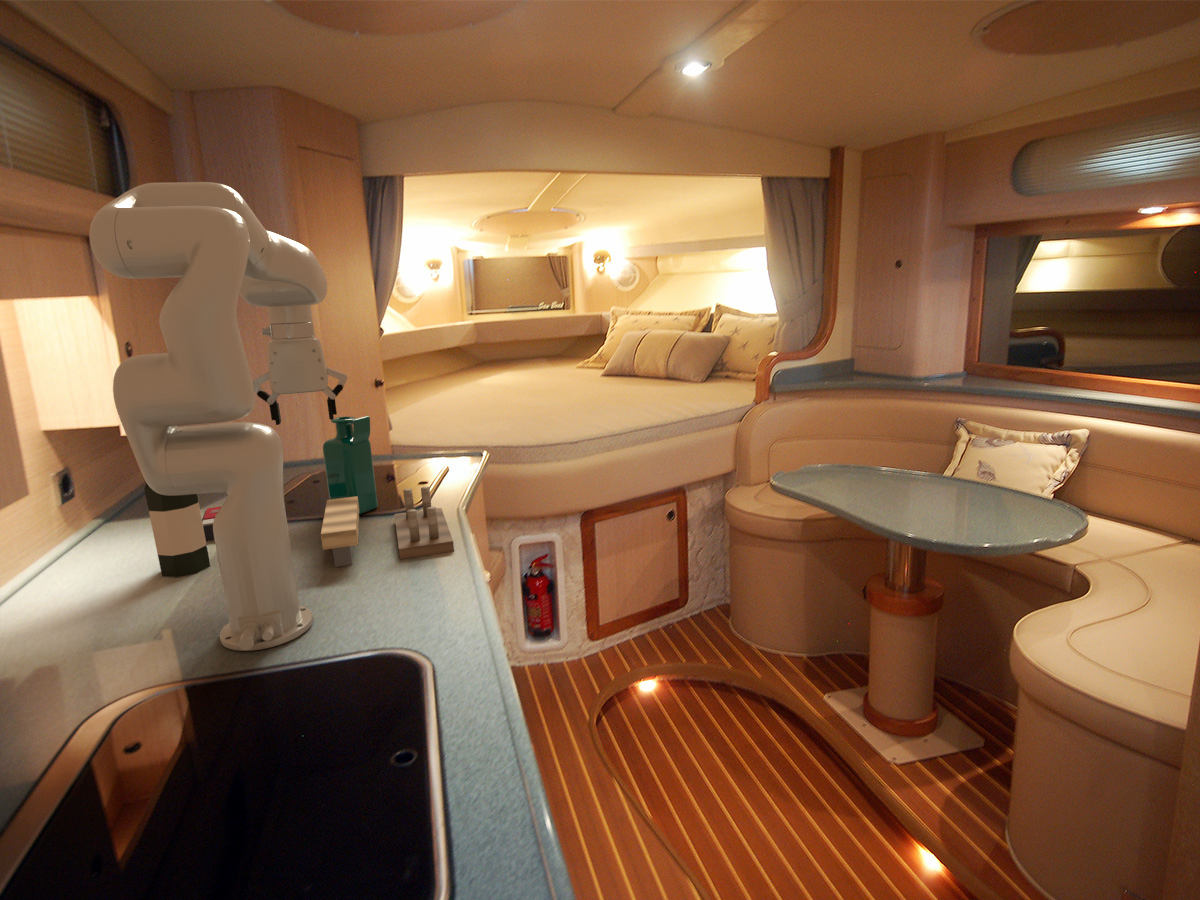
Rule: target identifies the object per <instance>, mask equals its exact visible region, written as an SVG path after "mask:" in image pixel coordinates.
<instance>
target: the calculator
mask: <svg viewBox="0 0 1200 900" xmlns="http://www.w3.org/2000/svg"><path fill="white" fill-rule="evenodd" d="M221 507H222V505H221V506H215V507H208V508H206V509H205V511H204V513H203V517H201V518H202V523H203V529H204V534H205V539H206V543H207V542H213V541H215V539H214V533H213V522H214V518H215V516H216V514H217V512H218V511H219V509H220V508H221Z"/></svg>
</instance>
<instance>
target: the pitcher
mask: <svg viewBox="0 0 1200 900" xmlns="http://www.w3.org/2000/svg"><path fill="white" fill-rule="evenodd" d="M330 423H331V424H335V430H336V436H335V437H332V438H329V439H327V440H326V441H324V442H323V445H322V452H323V461H324V467H325V469H324V470H325V475H326V481H327V482H326V483H327V490H328V497H329V499H328V500H331V499H339V498H347V497H355V496H357V497H358V504H359V514H361V515H363V514H365V513H364V512H366V513H368V512H370V511H372V510H374V509H377V508H378V506H379V504H378V503H379V502H378V495H377V488H376V487H377V486H376V478H375V471H374V470H375V469H374V463H373V462H374V461H373V455H372V454H373V453H372V445H371V441H370V436H371V418H370V416H369V415H364V416H361V417H357V418H356V417H355V416H350V415H349V416H339V417H334V420H331V419H330ZM367 511H368V512H367ZM362 513H363V514H362Z"/></svg>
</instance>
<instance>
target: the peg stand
mask: <svg viewBox="0 0 1200 900" xmlns="http://www.w3.org/2000/svg"><path fill="white" fill-rule="evenodd" d="M402 492H403V501H404V510H405V512H399V513H394V514H393V515H394V521H395V524H394V525H395V530H396V538H397V539H396V540H397V547H398V553H399V554H398V555H399V560H403V559H404V560H405V559H410V558H416V557H423V556H429V555H435V554H436V555H438V554H443V553H450V552H454V551H455V547H454V540H453V537H452V534H451V531H450V529H449V525H448V522H447V520H446V517H445V514H444V512H443V509H442V507H438V508H437V507H436V506H432V497H431V490H430V486H422V487H420V493H421V502H422V503H421V505H422V510H418V509H415V505H414V496H413V495H414V494H413V489H412V488H404V489H403V490H402Z"/></svg>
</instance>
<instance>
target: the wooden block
mask: <svg viewBox="0 0 1200 900" xmlns="http://www.w3.org/2000/svg"><path fill="white" fill-rule="evenodd" d="M324 509H325V511H324V516H323V521H322V526H321V532H320V539H321V546H322V550H323V551H325V550H330V549H332V548H339V547H346V546H353V547H354V546H359V529H360V527H359V524H360V515H359V504H358V497H357V496H355V497H347V498H339V499H331V500H330V499H327V500H326V505H325V508H324Z"/></svg>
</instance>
